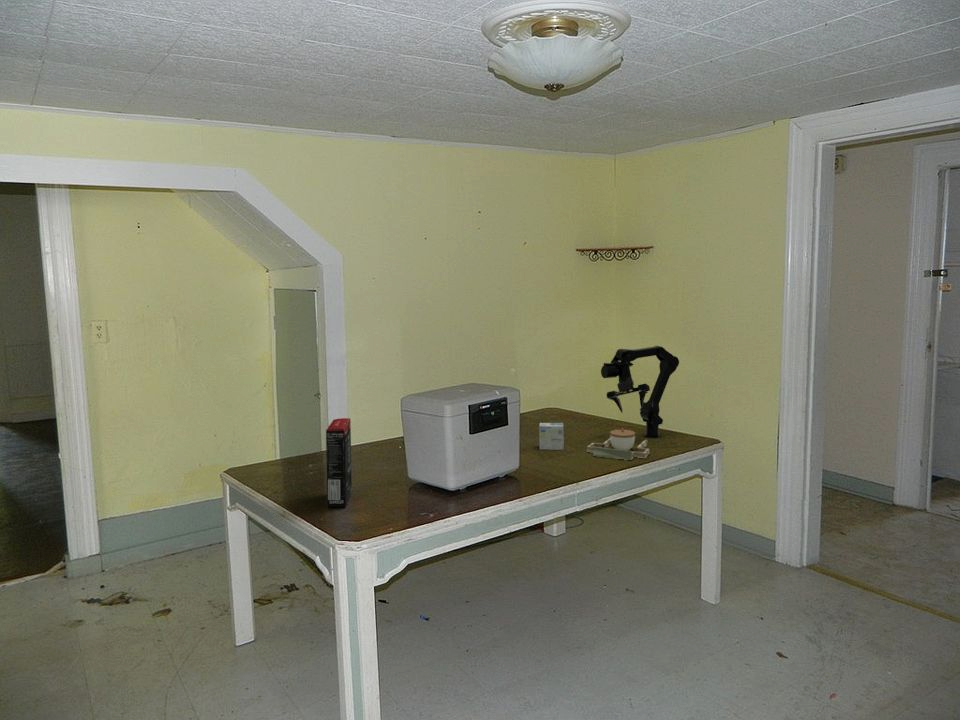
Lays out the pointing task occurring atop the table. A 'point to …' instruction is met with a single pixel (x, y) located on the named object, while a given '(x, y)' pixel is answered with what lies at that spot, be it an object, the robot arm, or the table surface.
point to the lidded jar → (622, 439)
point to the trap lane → (617, 451)
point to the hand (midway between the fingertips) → (631, 410)
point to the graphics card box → (338, 462)
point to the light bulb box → (551, 436)
